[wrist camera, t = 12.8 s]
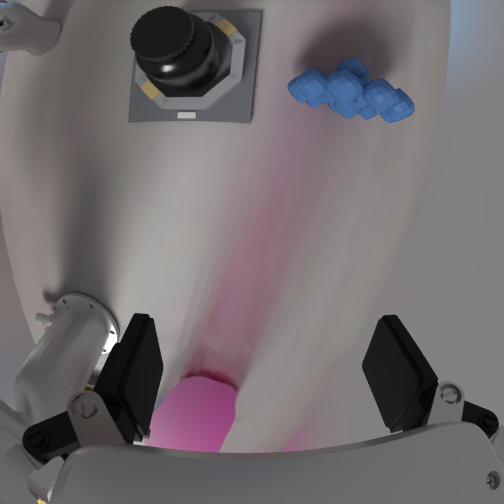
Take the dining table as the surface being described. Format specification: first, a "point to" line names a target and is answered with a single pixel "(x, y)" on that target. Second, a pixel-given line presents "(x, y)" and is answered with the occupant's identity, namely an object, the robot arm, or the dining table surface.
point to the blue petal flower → (352, 92)
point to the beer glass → (26, 29)
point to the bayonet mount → (219, 89)
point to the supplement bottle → (175, 48)
